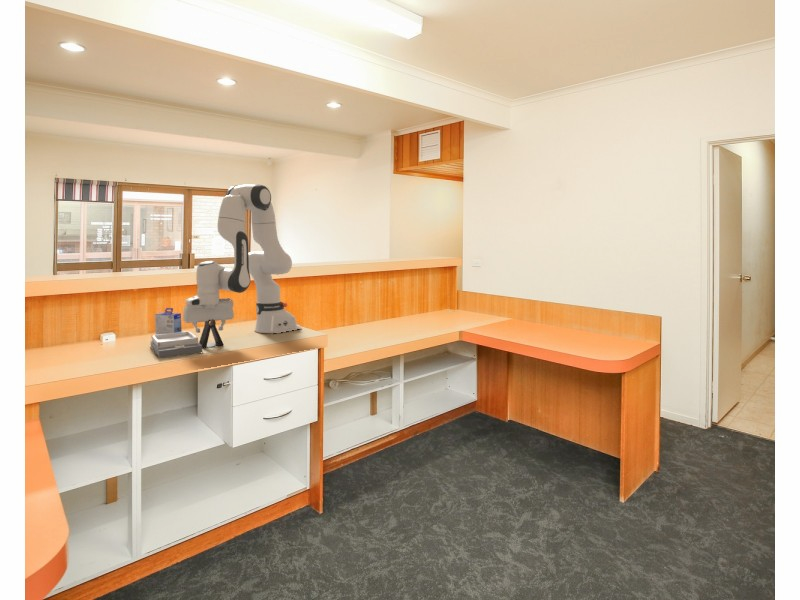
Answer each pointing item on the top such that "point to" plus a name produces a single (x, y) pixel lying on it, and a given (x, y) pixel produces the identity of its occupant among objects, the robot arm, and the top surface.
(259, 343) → the top surface
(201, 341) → the black mini tripod
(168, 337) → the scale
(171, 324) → the ink cartridge box
